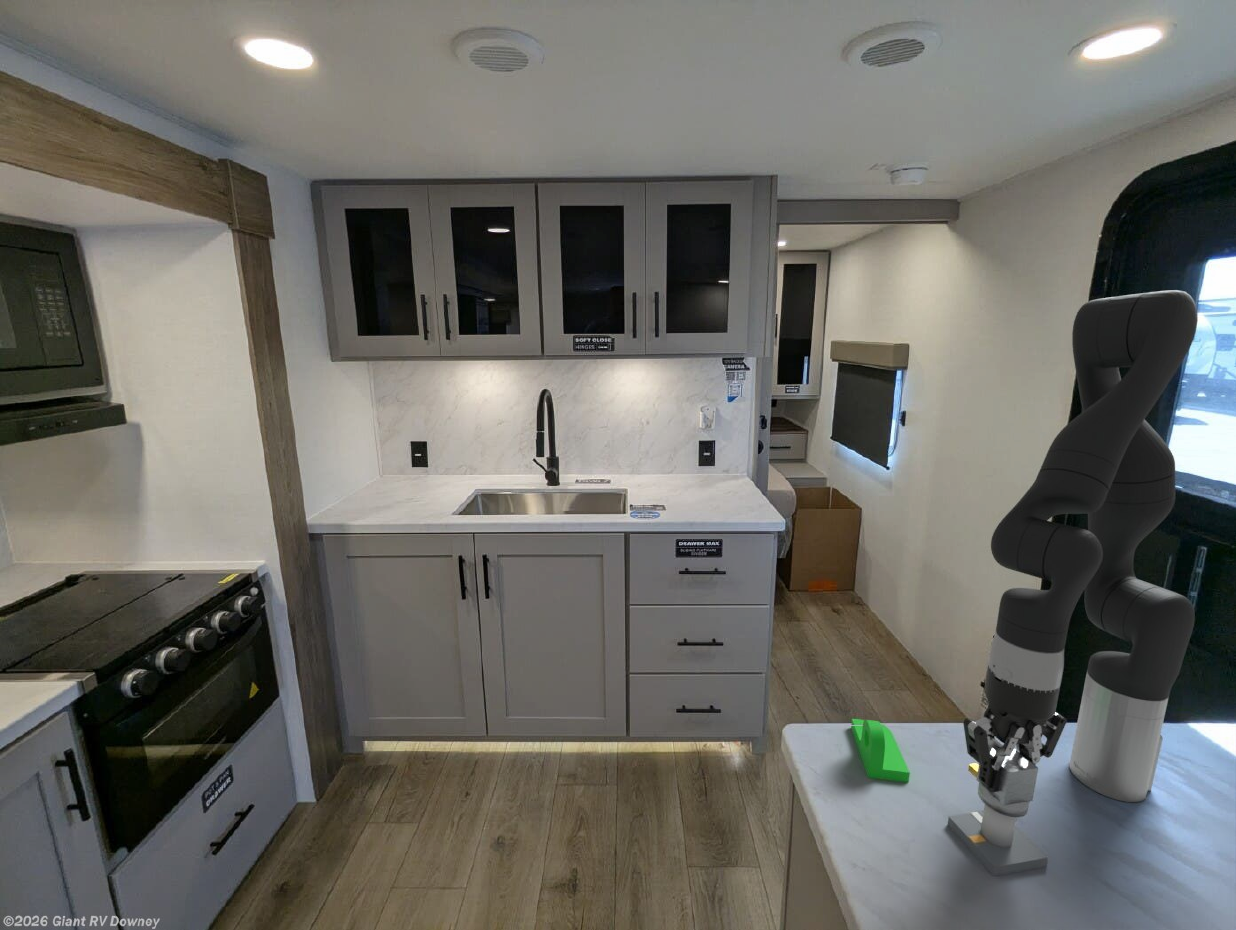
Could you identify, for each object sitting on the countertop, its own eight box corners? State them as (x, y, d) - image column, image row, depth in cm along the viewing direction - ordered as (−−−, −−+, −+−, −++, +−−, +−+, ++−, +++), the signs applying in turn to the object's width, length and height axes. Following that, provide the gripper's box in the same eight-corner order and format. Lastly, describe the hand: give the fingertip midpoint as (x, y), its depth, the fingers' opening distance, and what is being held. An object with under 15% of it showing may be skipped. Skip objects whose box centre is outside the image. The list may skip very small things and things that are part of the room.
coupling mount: (995, 816, 80) (1002, 775, 78) (1046, 866, 72) (1054, 822, 71) (947, 824, 79) (953, 783, 77) (993, 876, 71) (1001, 831, 69)
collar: (988, 768, 79) (994, 729, 78) (1038, 813, 72) (1046, 770, 70) (954, 774, 78) (960, 733, 77) (1001, 820, 71) (1008, 776, 69)
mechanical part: (908, 783, 86) (913, 739, 85) (868, 778, 88) (872, 734, 86) (886, 732, 98) (890, 692, 96) (851, 728, 99) (854, 689, 97)
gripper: (1043, 649, 75) (1024, 757, 78) (952, 660, 72) (937, 771, 76) (1099, 681, 68) (1076, 798, 71) (1001, 694, 65) (981, 815, 68)
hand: (1004, 784), depth 73 cm, fingers closed on collar, 4 cm apart
